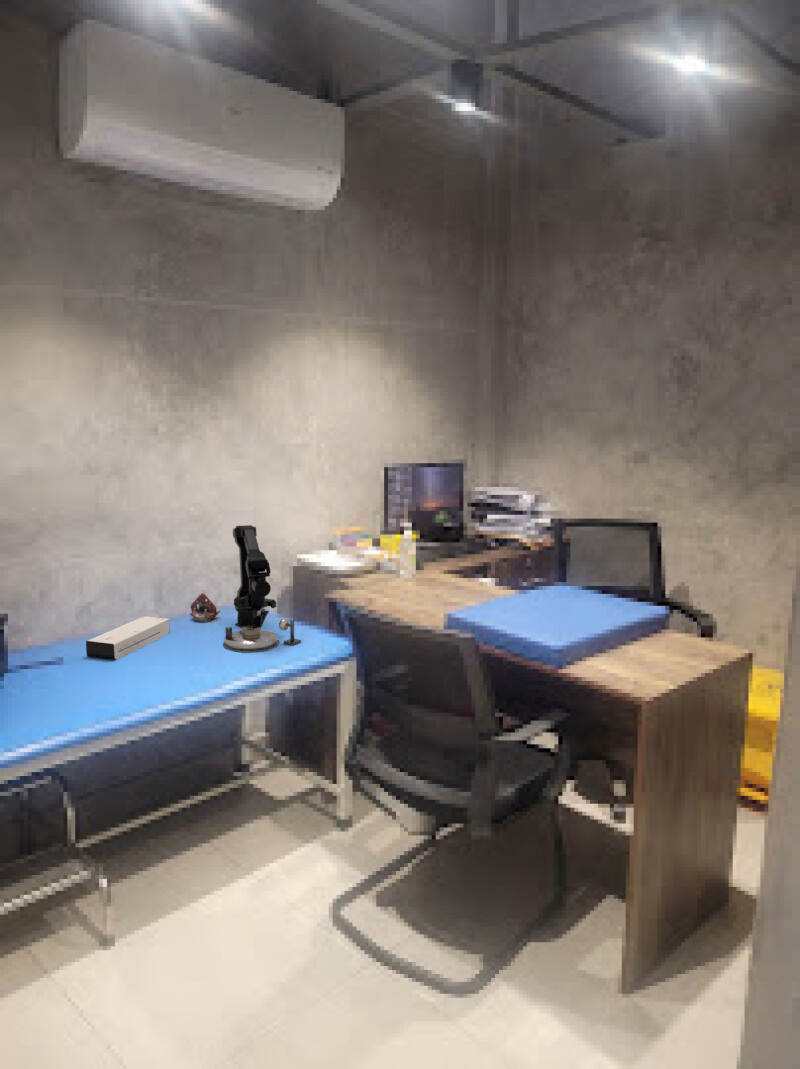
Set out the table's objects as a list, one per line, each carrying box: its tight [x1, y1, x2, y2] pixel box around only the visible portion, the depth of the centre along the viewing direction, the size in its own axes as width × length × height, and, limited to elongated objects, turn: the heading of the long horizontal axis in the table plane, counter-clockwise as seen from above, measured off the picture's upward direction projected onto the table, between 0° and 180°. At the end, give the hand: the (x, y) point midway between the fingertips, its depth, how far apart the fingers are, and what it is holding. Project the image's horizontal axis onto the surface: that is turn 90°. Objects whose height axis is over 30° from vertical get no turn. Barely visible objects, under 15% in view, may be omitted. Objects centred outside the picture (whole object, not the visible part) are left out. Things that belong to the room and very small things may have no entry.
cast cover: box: [241, 625, 261, 640], centre depth 300 cm, size 7×7×4 cm
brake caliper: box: [189, 592, 221, 623], centre depth 331 cm, size 11×11×12 cm
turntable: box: [224, 626, 278, 651], centre depth 300 cm, size 19×19×6 cm
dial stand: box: [278, 618, 302, 647], centre depth 301 cm, size 6×5×9 cm
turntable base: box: [222, 638, 280, 654], centre depth 300 cm, size 20×20×1 cm
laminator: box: [85, 615, 171, 661], centre depth 297 cm, size 34×12×6 cm, turn 163°
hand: (257, 630), depth 304 cm, fingers closed
